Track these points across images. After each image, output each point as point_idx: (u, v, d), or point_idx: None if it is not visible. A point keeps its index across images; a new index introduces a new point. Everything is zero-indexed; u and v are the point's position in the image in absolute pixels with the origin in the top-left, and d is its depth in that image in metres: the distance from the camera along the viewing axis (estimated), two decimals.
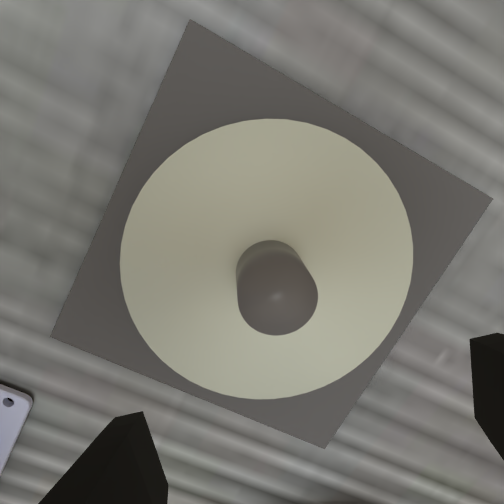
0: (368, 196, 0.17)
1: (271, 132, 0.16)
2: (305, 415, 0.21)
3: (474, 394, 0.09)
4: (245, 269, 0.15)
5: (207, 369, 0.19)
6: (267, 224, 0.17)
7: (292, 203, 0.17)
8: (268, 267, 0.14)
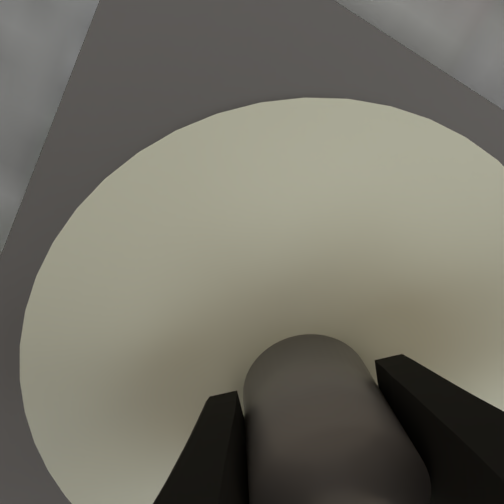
0: (502, 251, 0.09)
1: (317, 126, 0.08)
2: None
3: None
4: (266, 426, 0.07)
5: None
6: (304, 305, 0.09)
7: (354, 266, 0.09)
8: (321, 442, 0.06)
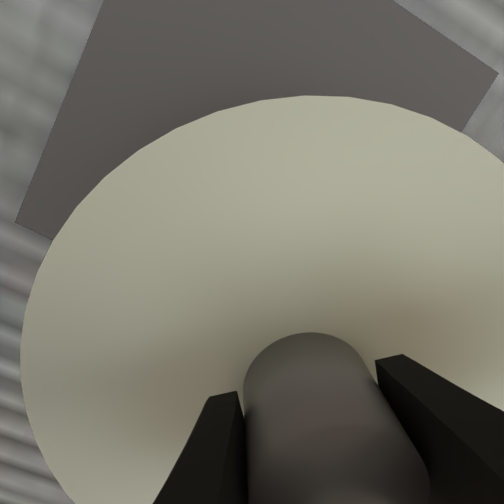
0: (502, 250, 0.09)
1: (317, 123, 0.08)
2: None
3: None
4: (265, 424, 0.07)
5: None
6: (304, 304, 0.09)
7: (354, 264, 0.09)
8: (321, 439, 0.06)
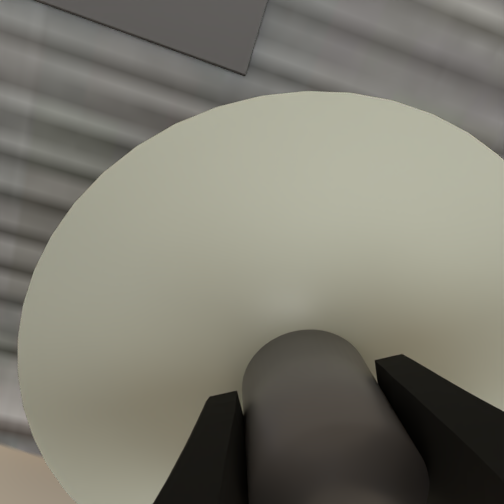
0: (502, 247, 0.09)
1: (318, 120, 0.08)
2: (206, 18, 0.15)
3: None
4: (265, 422, 0.07)
5: None
6: (304, 301, 0.09)
7: (354, 262, 0.09)
8: (321, 437, 0.06)
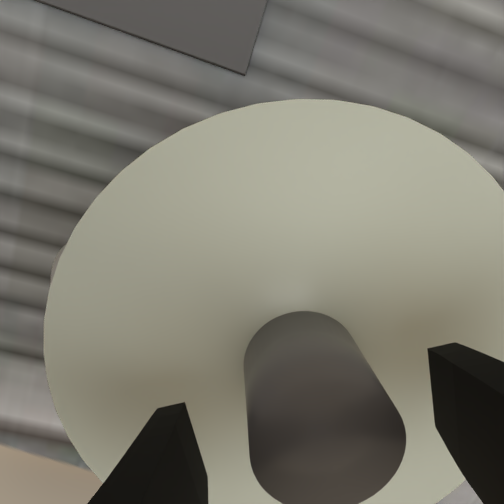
0: (475, 236, 0.10)
1: (308, 124, 0.09)
2: (206, 18, 0.15)
3: (433, 403, 0.09)
4: (263, 385, 0.08)
5: None
6: (298, 285, 0.10)
7: (342, 249, 0.10)
8: (310, 394, 0.07)
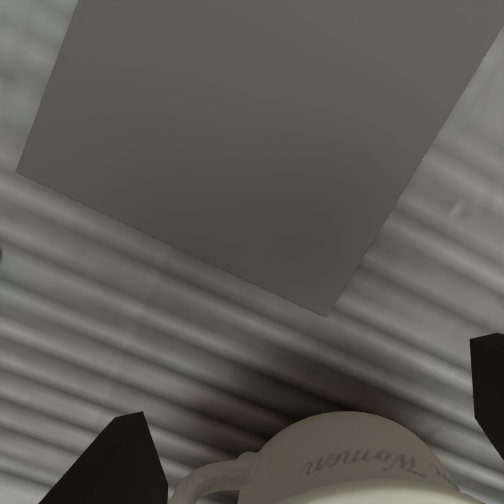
0: None
1: None
2: (304, 275, 0.18)
3: (474, 394, 0.09)
4: None
5: None
6: None
7: None
8: None
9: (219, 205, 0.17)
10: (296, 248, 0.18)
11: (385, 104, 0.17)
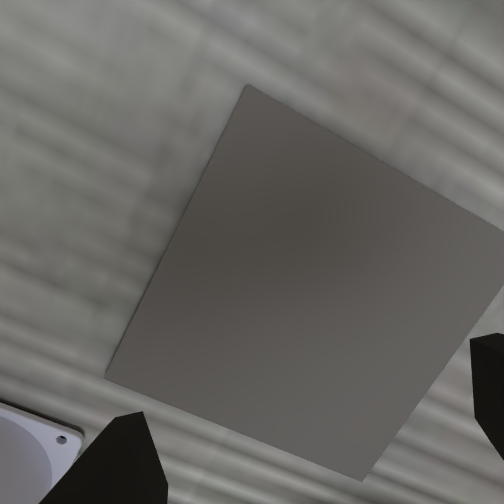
0: None
1: None
2: (344, 450, 0.21)
3: (474, 394, 0.09)
4: None
5: None
6: None
7: None
8: None
9: (274, 399, 0.20)
10: (338, 429, 0.21)
11: (418, 321, 0.19)
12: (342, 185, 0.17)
